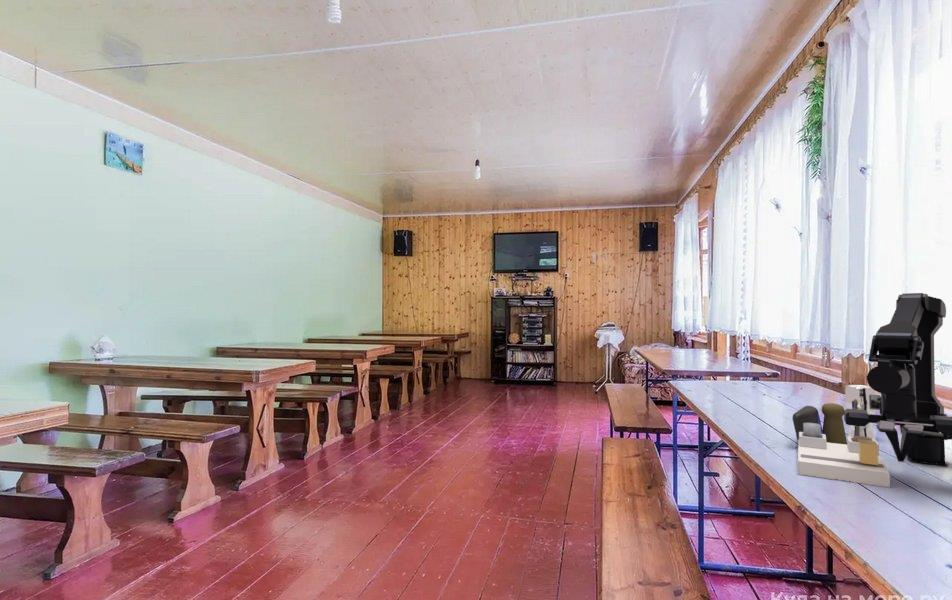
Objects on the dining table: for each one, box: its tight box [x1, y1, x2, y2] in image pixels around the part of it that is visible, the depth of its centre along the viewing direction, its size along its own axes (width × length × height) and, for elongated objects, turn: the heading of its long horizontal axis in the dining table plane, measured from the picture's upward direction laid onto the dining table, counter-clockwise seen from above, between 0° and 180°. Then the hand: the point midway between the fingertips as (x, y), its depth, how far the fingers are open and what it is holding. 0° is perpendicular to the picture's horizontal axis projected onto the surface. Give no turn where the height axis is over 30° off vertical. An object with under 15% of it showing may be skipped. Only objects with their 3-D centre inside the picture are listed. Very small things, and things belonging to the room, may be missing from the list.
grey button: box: [803, 423, 822, 438], centre depth 124 cm, size 4×4×3 cm
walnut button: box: [853, 436, 872, 442], centre depth 118 cm, size 4×4×3 cm
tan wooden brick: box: [858, 439, 878, 465], centre depth 108 cm, size 3×4×4 cm
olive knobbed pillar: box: [821, 402, 847, 445], centre depth 136 cm, size 6×6×11 cm
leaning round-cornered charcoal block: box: [792, 405, 823, 442], centre depth 135 cm, size 16×5×9 cm, turn 135°
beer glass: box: [844, 384, 876, 440], centre depth 140 cm, size 7×7×15 cm
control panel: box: [797, 432, 891, 488], centre depth 116 cm, size 16×22×6 cm
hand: (900, 461), depth 105 cm, fingers closed
